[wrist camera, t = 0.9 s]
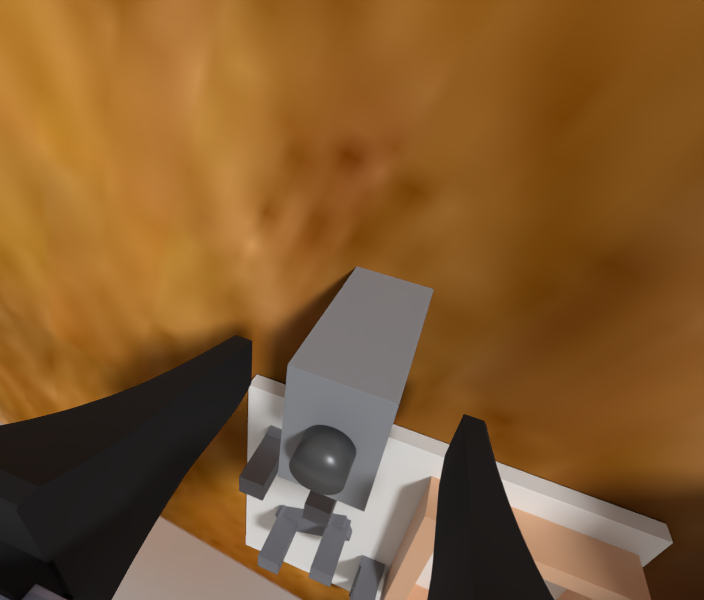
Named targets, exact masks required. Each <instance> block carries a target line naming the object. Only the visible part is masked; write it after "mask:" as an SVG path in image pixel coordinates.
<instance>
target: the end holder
mask: <svg viewBox="0 0 704 600" xmlns="http://www.w3.org/2000/svg"><path fill="white" fill-rule="evenodd" d="M439 483H440V479H438V478H436V477H433V476H432V477H431V479H430V481H429V483H428V485H427V487H426V490H425V492H424V494H423V496H422V498H421V501H420V503H419V505H418V507H417V509H416V511H415V514H414V516H413V518H412V520H411V522H410V524H409V527H408V529H407V531H406V533H405V535H404V538H403V540H402V542H401V544H400V546H399V548H398V551H397V553H396V555H395V557H394V559H393V561H392V564H391V566H390V568H389V570H388V572H387V575H386V577H385V579H384V583H383V587H382V592H381V596H380V600H427V598H428V592H429V590H428V589H426V588H423V587H421V586H419V585H417V584H415V583H416V582H417V580H418V578H419V576H420V575H421V573H422V571H423V569H424V567H425V566H426V564H427V562H428V560H429V559H430V557H431V555H432V553H433V552H434V539H435V527H436V514H437V502H438V490H439ZM511 508H512V511H513V513H514V516H515V518H516V521H517V524H518V526H519V528H520V531H521V533H522V535H523V538H524V540H525V542H526V544H527V547H528V549H529V551H530V553H531V555H532V557H533V559H534V562H535V564H536V566H537V568H538V570H539V572H540V574H541V576H542V578H543V579H544V580H547V581H549V582H552V583H554V584H557V585H559V586H562V587H564V588H566V589H567V590H566V591H565V592H564V593H563V594H562V595H561V596H560V597H558V598H557V599H556V600H651V597H650V593H649V590H648V586H647V583H646V579H645V575H644V572H643V568H642V564H641V561H640V557H639V555H637V554H634V553H632V552H629V551H626V550H624V549H621V548H619V547H616V546H613V545H611V544H608V543H605V542H603V541H600V540H598V539H595V538H592V537H590V536H587V535H585V534H582V533H579V532H577V531H574V530H572V529H569V528H566V527H564V526H561V525H558V524H556V523H553V522H551V521H548V520H545V519H543V518H540V517H538V516H535V515H532V514H530V513H527V512H525V511H522V510H519V509H517V508H514V507H512V506H511Z"/></svg>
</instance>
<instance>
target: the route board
mask: <svg viewBox="0 0 704 600" xmlns="http://www.w3.org/2000/svg"><path fill="white" fill-rule="evenodd" d="M285 389H286V385H285V384H282V383H280V382H277V381H274V380H271V379H269V378H266V377H263V376H261V375H258V374H257V375H256V376H255V377H254V379H253V380H252V381H251V385H250V387H249V396H248V454H247V465H246V466H245V468H244V470H243V471H242V473H241V474H240V476H239V491H241V492H243V493H245V494H247V512H246V545H249V546H251V547H253V548H255V549H257V550H260V553H259V555H258V566H260V567H262V568H264V569H266V570H268V571H271V572H273V573H275V574H278V572H279V570H280V568H281V565H282V563H283V561H284V562H286V563H288V564H291V565H293V566H295V567H297V568H299V569H302V570H304V571H306V572H308V573H309V578H311V579H313V580H315V581H318V582H320V583H322V584H324V585H326V586H329V587H330V585H331V583H333V584H335V585H337V586H339V587H342V588H344V589H346V590H348V591H350V594H349V596H350V599H349V600H380V596H381V592H382V587H383V583H384V579H385V577H386V575H387V572H388V570H389V568H390V566H391V564H392V561H393V559H394V557H395V555H396V553H397V551H398V548H399V546H400V544H401V542H402V540H403V538H404V535H405V533H406V531H407V529H408V527H409V524H410V522H411V520H412V518H413V516H414V514H415V511H416V509H417V507H418V505H419V503H420V501H421V498H422V496H423V494H424V492H425V490H426V487H427V485H428V483H429V481H430V479H431V477H432V476H433V477H436V478H438V479H440V477H441V472H442V467H443V462H444V457H445V454H446V451H447V449H448V447H449V444H446V443H444V442H441V441H438V440H435V439H433V438H430V437H427V436H425V435H422V434H419V433H416V432H414V431H411V430H408V429H405V428H403V427H400V426H397V425H394V424H393V425H392V428H391V431H390V434H389V437H388V441H387V444H386V447H385V450H384V453H383V456H382V459H381V462H380V465H379V468H378V471H377V474H376V477H375V480H374V484H373V487H372V490H371V493H370V496H369V499H368V502H367V505H366V508H365V511H361V510H359V509H356V508H354V507H351V506H349V505H347V504H344V503H342V502H339V501H337V500H334V499H332V498H330V497H327V496H325V495H322V494H318V493H315V492H313V491H311V490H309V489H307V488H305V487H303V486H300V485H298V484H296V483H293V482H291V481H288V480H286V479H283V478H281V477H279V476H278V467H279V455H280V444H281V433H282V422H283V411H284V400H285ZM496 465H497V468H498V471H499V474H500V477H501V480H502V483H503V486H504V489H505V492H506V495H507V498H508V500H509V503H510V506H512V507H514V508H517V509H519V510H522V511H525V512H527V513H530V514H532V515H535V516H538V517H540V518H543V519H545V520H548V521H551V522H553V523H556V524H558V525H561V526H564V527H566V528H569V529H572V530H574V531H577V532H579V533H582V534H585V535H587V536H590V537H592V538H595V539H598V540H600V541H603V542H605V543H608V544H611V545H613V546H616V547H619V548H621V549H624V550H626V551H629V552H632V553H634V554H637V555H639V557H640V561H641V564H642V568H643V567H644V566H645V565H646V564H648V563H649V562H650V561H651V560H653V559H654V558H655V557H656V556H657V555H659V554H660V553H661V552H662V551H664V550H665V549H666V548H667V547H669V546H670V545H671V544H672V543H673V542H672V539H671V536H670V533H669V530H668V527H667V525H666V524H665V523H662V522H660V521H657V520H654V519H651V518H649V517H646V516H643V515H640V514H638V513H635V512H632V511H629V510H627V509H624V508H621V507H619V506H616V505H613V504H610V503H608V502H605V501H602V500H599V499H597V498H594V497H591V496H588V495H586V494H583V493H580V492H578V491H575V490H572V489H569V488H567V487H564V486H561V485H558V484H556V483H553V482H550V481H547V480H545V479H542V478H539V477H537V476H534V475H531V474H528V473H526V472H523V471H520V470H517V469H515V468H512V467H509V466H506V465H504V464H501V463H498V462H496ZM432 564H433V553H432V555H431V557H430V559H429V560H428V562H427V564H426V566H425V567H424V569H423V571H422V573H421V575H420V576H419V578H418V580H417V582H416V583H415V584H417V585H419V586H421V587H423V588H426V589H428V590H429V586H430V580H431V572H432ZM543 580H544V579H543ZM544 582H545V583H546V585H547V587H548V589H549V591H550V593H551V595H552V596H553V598H554V600H556V599H557V598H558V597H560V596H561V595H562V594H563V593H564V592H565V591H566V590H567V589H566V588H564V587H562V586H559V585H557V584H554V583H552V582H549V581H547V580H544Z"/></svg>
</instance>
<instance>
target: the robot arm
mask: <svg viewBox="0 0 704 600" xmlns="http://www.w3.org/2000/svg"><path fill="white" fill-rule="evenodd" d="M251 373H252V341H251V340H248V339H245V338H243V337H240V336H237V335H236V336H234V337H232V338H230V339H228V340H226V341H224V342H223V343H221V344H219V345H217V346H215V347H214V348H212V349H210V350H208V351H206V352H204V353H203V354H201V355H199V356H197V357H195V358H193V359H191V360H189V361H188V362H186V363H184V364H182V365H180V366H178V367H176V368H174V369H172V370H170V371H168V372H166V373H164V374H161V375H159V376H157V377H155V378H153V379H151V380H149V381H147V382H144V383H142V384H140V385H137V386H135V387H132V388H130V389H127V390H125V391H122V392H119V393H117V394H114V395H111V396H109V397H106V398H103V399H99V400H96V401H93V402H90V403H87V404H84V405H81V406H78V407H75V408H71V409H68V410H64V411H61V412H57V413H53V414H49V415H45V416H41V417H37V418H33V419H29V420H25V421H20V422H15V423H10V424H5V425H1V426H0V600H111V599H112V598H113V596H114V594H115V592H116V590H117V589H118V587H119V585H120V583H121V581H122V580H123V578H124V576H125V574H126V572H127V570H128V569H129V567H130V565H131V563H132V561H133V560H134V558H135V556H136V555H137V553H138V551H139V549H140V548H141V546H142V544H143V543H144V541H145V539H146V537H147V536H148V534H149V532H150V531H151V529H152V527H153V525H154V524H155V522H156V521H157V519H158V517H159V516H160V514H161V513H162V511H163V509H164V508H165V506H166V504H167V503H168V501H169V500H170V498H171V496H172V495H173V493H174V492H175V490H176V489H177V487H178V486H179V484H180V483H181V481H182V479H183V478H184V476H185V475H186V473H187V472H188V471H189V469H190V468H191V466H192V465H193V464H194V462H195V461H196V460H197V459H198V457H199V456H200V455H201V453H202V452H203V451H204V450H205V448H206V447H207V446H208V445H209V443H210V442H211V441H212V440H213V438H214V437H215V436H216V434H217V433H218V432H219V431H220V429H221V428H222V427H223V426H224V424H225V423H226V422H227V420H228V419H229V418H230V417H231V415H232V414H233V413H234V411H235V410H236V409H237V407H238V405H239V404H240V402H241V401H242V399H243V397H244V396H245V394H246V392H247V390H248V389H249V387H250V385H251ZM427 600H554V598H553V596H552V595H551V593H550V591H549V589H548V587H547V585H546V583H545V582H544V580H543V578H542V576H541V574H540V572H539V570H538V568H537V566H536V564H535V562H534V559H533V557H532V555H531V553H530V551H529V549H528V547H527V544H526V542H525V540H524V538H523V535H522V533H521V531H520V528H519V526H518V524H517V521H516V518H515V516H514V513H513V511H512V508H511V506H510V503H509V500H508V498H507V495H506V492H505V489H504V486H503V483H502V480H501V477H500V474H499V471H498V468H497V465H496V461H495V458H494V454H493V451H492V447H491V443H490V439H489V435H488V431H487V426H486V424H485V422H484V421H483V420H480V419H477V418H474V417H471V416H468V415H465V414H464V415H463V417H462V419H461V422H460V424H459V426H458V428H457V430H456V432H455V434H454V437H453V439H452V441H451V443H450V445H449V447H448V449H447V451H446V454H445V457H444V462H443V467H442V472H441V477H440V483H439V490H438V502H437V514H436V527H435V539H434V552H433V564H432V572H431V580H430V586H429V592H428V598H427Z"/></svg>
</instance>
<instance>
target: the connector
mask: <svg viewBox="0 0 704 600" xmlns="http://www.w3.org/2000/svg"><path fill="white" fill-rule="evenodd" d="M433 290H434V289H431V288H428V287H424V286H421V285H418V284H414V283H411V282H408V281H404V280H401V279H397V278H394V277H391V276H387V275H384V274H381V273H377V272H374V271H371V270H367V269H364V268H361V267H356V268H355V270H354V271H353V272H352V274H351V275H350V277H349V278H348V280H347V281H346V282H345V284H344V285H343V287H342V288H341V289H340V291H339V292H338V294H337V295H336V297H335V298H334V299H333V301H332V302H331V304H330V305H329V307H328V308H327V309H326V311H325V312H324V314H323V315H322V316H321V318H320V319H319V321H318V322H317V324H316V325H315V326H314V328H313V329H312V331H311V332H310V333H309V335H308V336H307V338H306V339H305V341H304V342H303V343H302V345H301V346H300V348H299V349H298V351H297V352H296V353H295V355H294V356H293V358H292V359H291V360H290V362H289V363H288V366H287V378H286V389H285V400H284V411H283V422H282V433H281V444H280V455H279V467H278V476H279V477H281V478H283V479H286V480H288V481H291V482H293V483H296V484H298V485H300V486H303V487H305V488H307V489H309V490H311V491H313V492H315V493H318V494H322V495H325V496H327V497H330V498H332V499H334V500H337V501H339V502H342V503H344V504H347V505H349V506H351V507H354V508H356V509H359V510H361V511H365V508H366V505H367V502H368V499H369V496H370V493H371V490H372V487H373V484H374V480H375V477H376V474H377V471H378V468H379V465H380V462H381V459H382V456H383V453H384V450H385V447H386V444H387V441H388V437H389V434H390V431H391V428H392V425H393V422H394V419H395V416H396V413H397V410H398V407H399V404H400V400H401V397H402V394H403V390H404V387H405V384H406V380H407V377H408V374H409V370H410V367H411V364H412V360H413V357H414V354H415V350H416V347H417V344H418V340H419V337H420V334H421V330H422V327H423V324H424V320H425V317H426V314H427V310H428V307H429V304H430V300H431V297H432V294H433Z"/></svg>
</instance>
